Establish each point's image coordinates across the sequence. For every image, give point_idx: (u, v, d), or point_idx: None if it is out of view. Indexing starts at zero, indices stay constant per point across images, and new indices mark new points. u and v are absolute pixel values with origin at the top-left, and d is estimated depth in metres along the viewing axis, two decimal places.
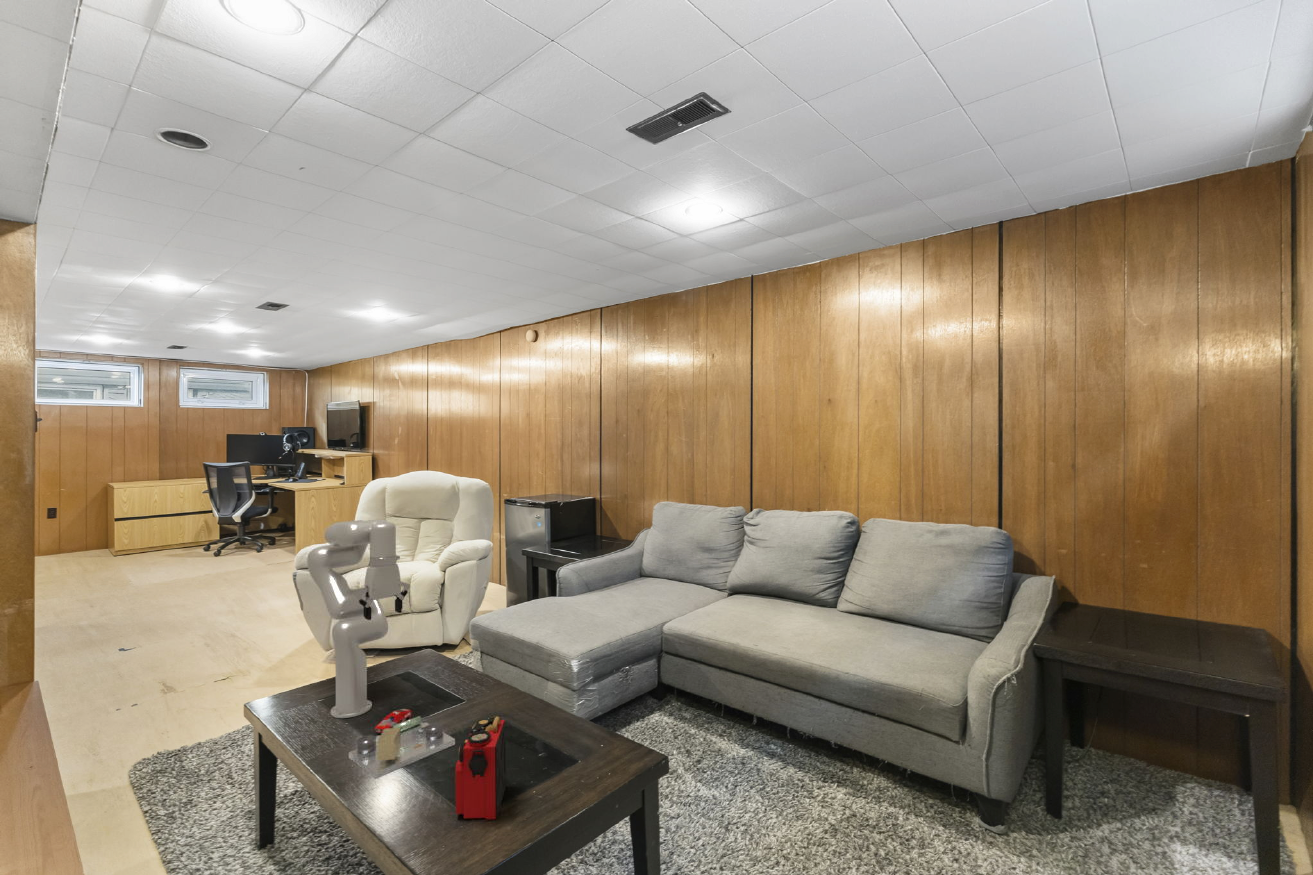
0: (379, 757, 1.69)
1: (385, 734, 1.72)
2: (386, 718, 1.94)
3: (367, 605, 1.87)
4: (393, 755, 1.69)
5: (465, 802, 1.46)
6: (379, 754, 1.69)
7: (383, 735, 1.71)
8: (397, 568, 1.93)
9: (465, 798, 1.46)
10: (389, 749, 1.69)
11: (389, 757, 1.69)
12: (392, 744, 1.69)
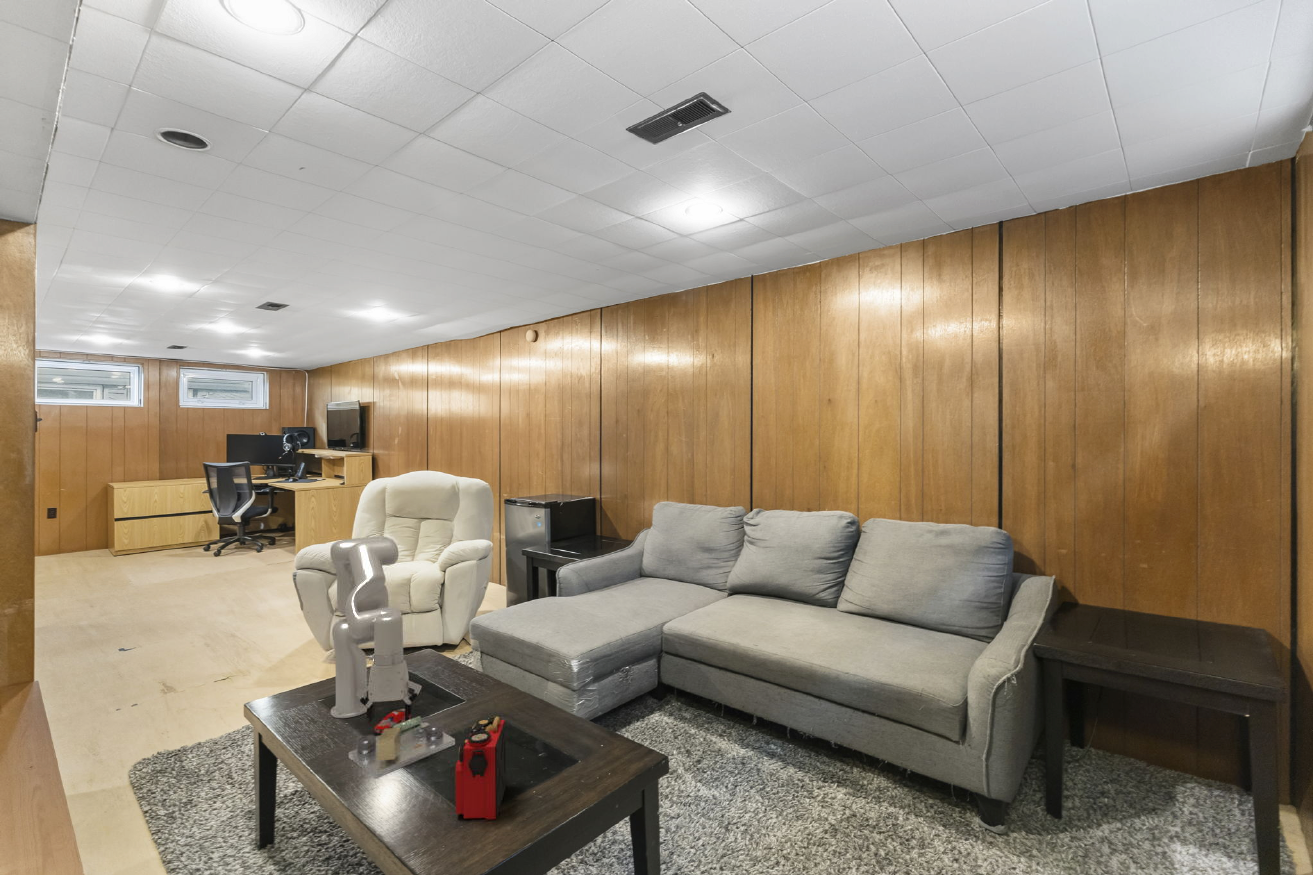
0: (379, 757, 1.69)
1: (385, 734, 1.72)
2: (385, 718, 1.94)
3: None
4: (393, 755, 1.69)
5: (465, 802, 1.46)
6: (379, 754, 1.69)
7: (383, 735, 1.71)
8: None
9: (465, 798, 1.46)
10: (389, 749, 1.69)
11: (389, 757, 1.69)
12: (392, 744, 1.69)
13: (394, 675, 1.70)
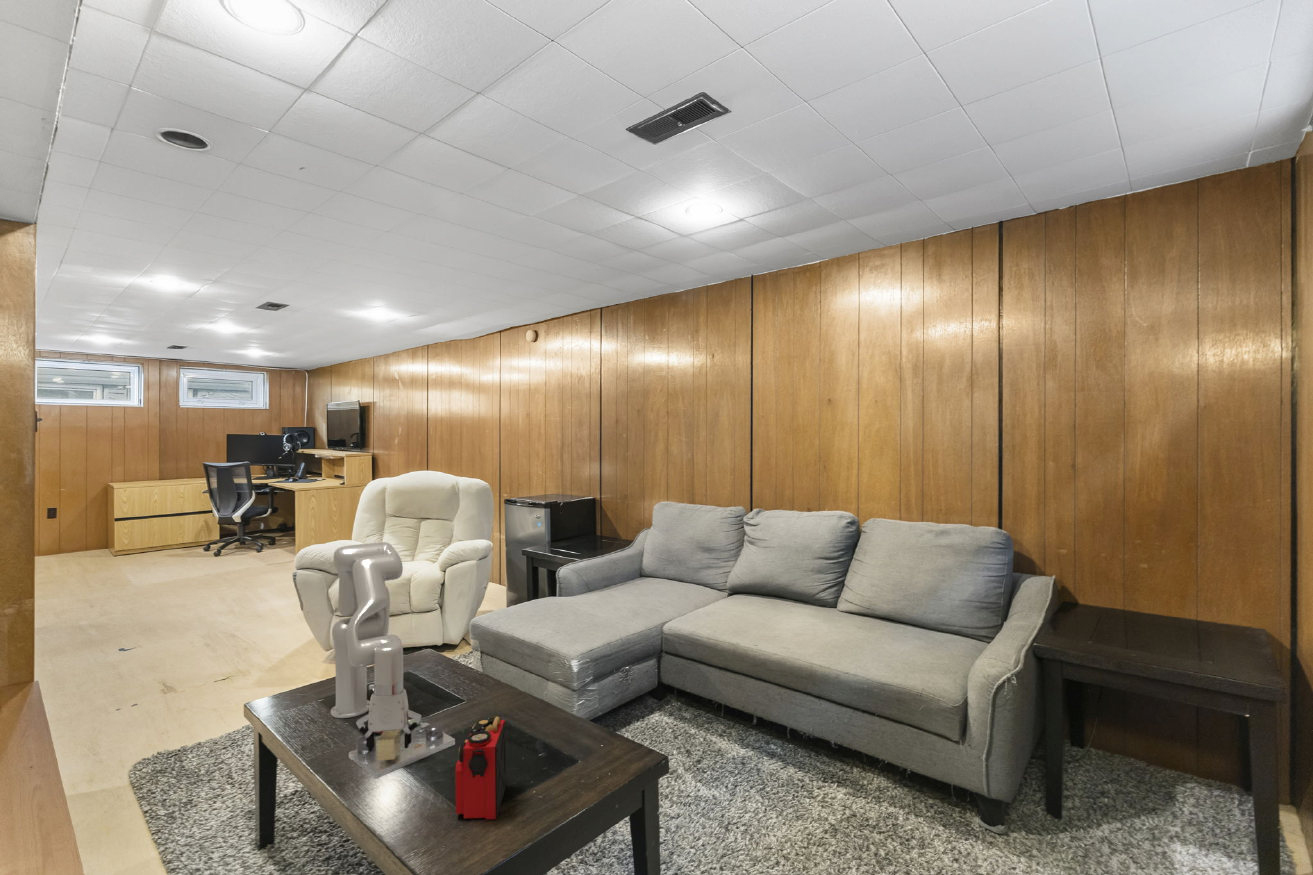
0: (379, 757, 1.69)
1: (385, 734, 1.72)
2: None
3: None
4: (393, 755, 1.69)
5: (465, 802, 1.46)
6: (379, 754, 1.69)
7: (383, 735, 1.71)
8: None
9: (465, 798, 1.46)
10: (389, 749, 1.69)
11: (389, 757, 1.69)
12: (392, 744, 1.69)
13: (394, 705, 1.70)
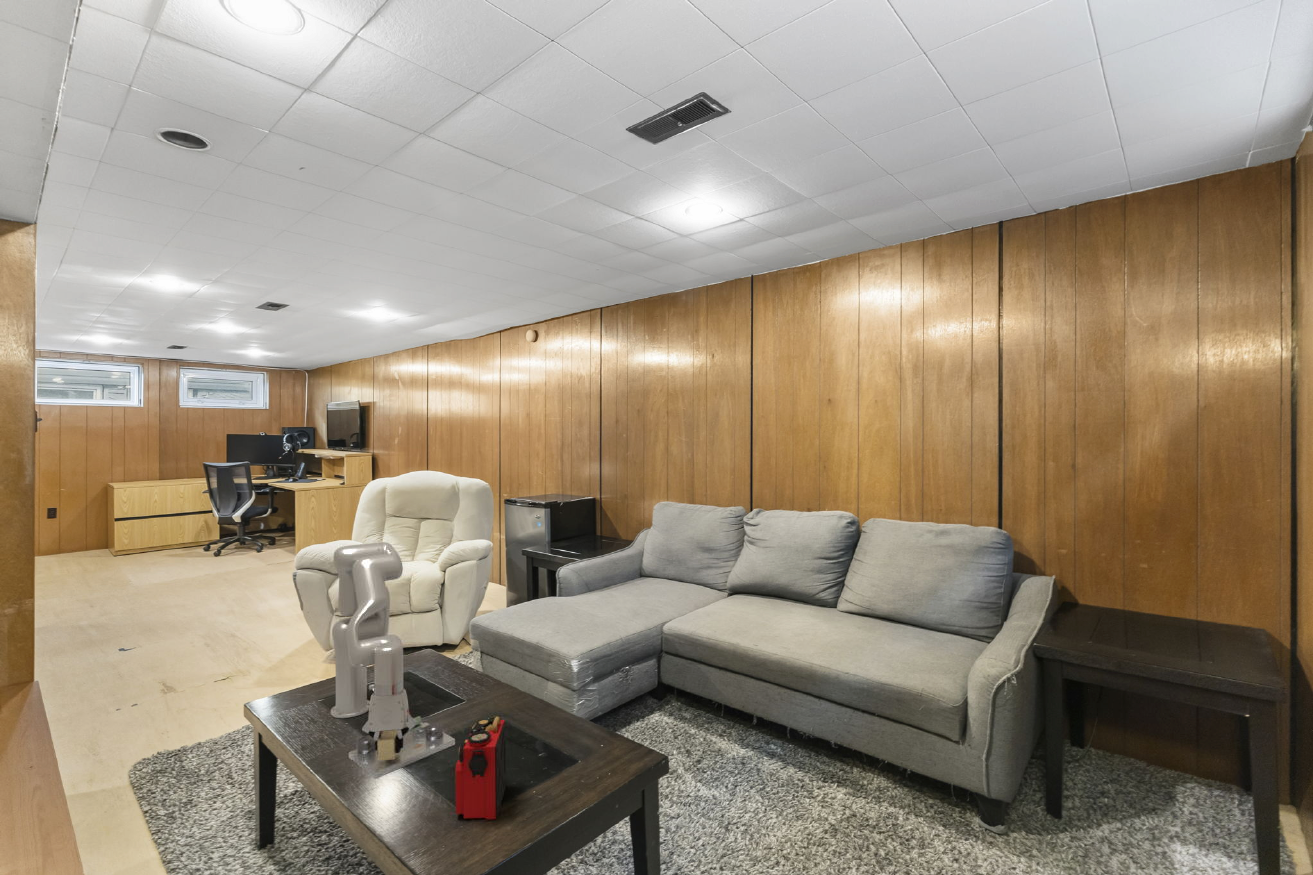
0: (379, 757, 1.69)
1: (385, 734, 1.72)
2: None
3: None
4: (393, 755, 1.69)
5: (465, 802, 1.46)
6: (379, 754, 1.69)
7: (383, 735, 1.71)
8: None
9: (465, 798, 1.46)
10: (389, 749, 1.69)
11: (389, 757, 1.69)
12: (392, 744, 1.69)
13: (394, 705, 1.70)
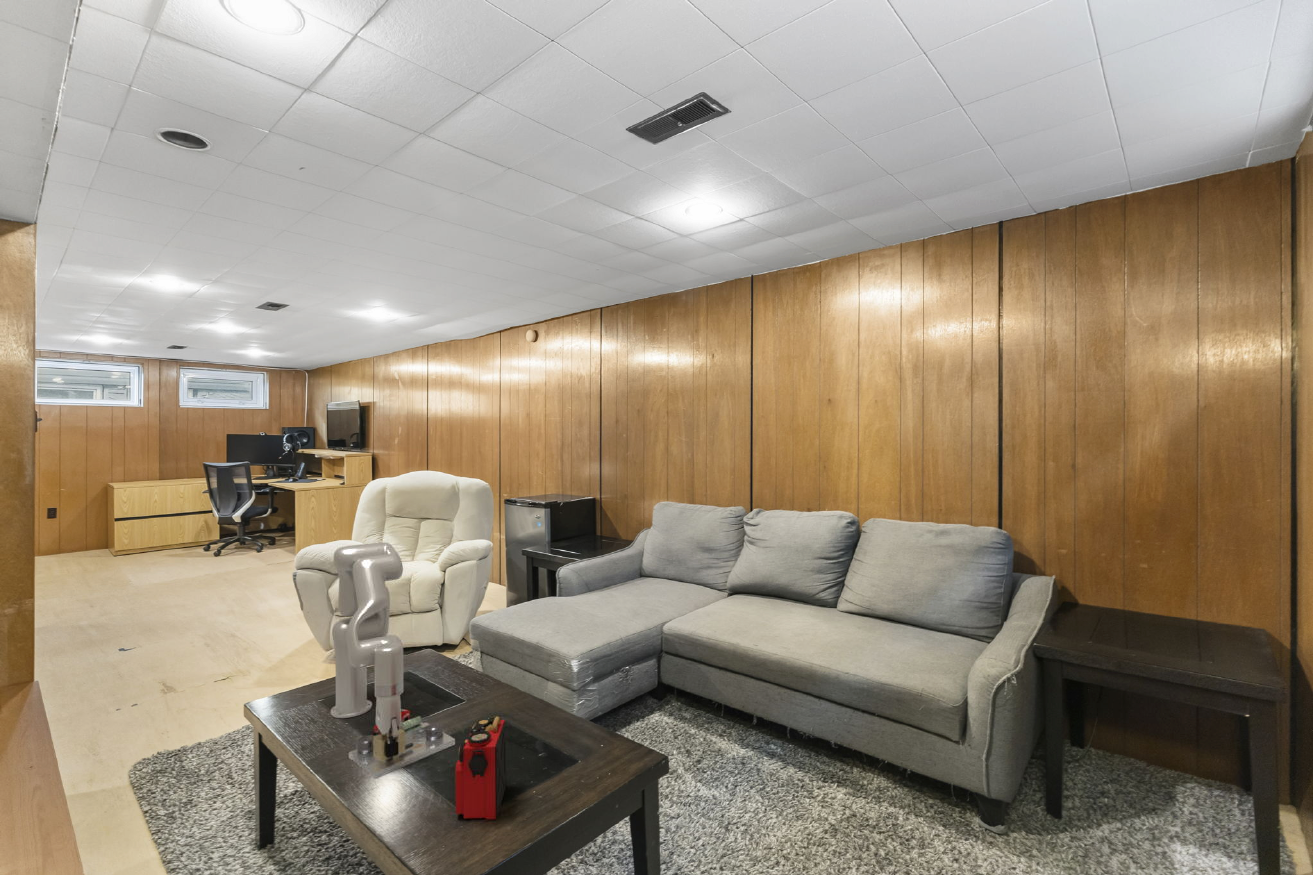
0: (374, 753, 1.71)
1: None
2: None
3: None
4: (381, 756, 1.69)
5: (465, 802, 1.46)
6: (374, 750, 1.71)
7: None
8: None
9: (465, 798, 1.46)
10: (378, 749, 1.69)
11: (379, 758, 1.69)
12: (380, 745, 1.69)
13: (380, 707, 1.69)
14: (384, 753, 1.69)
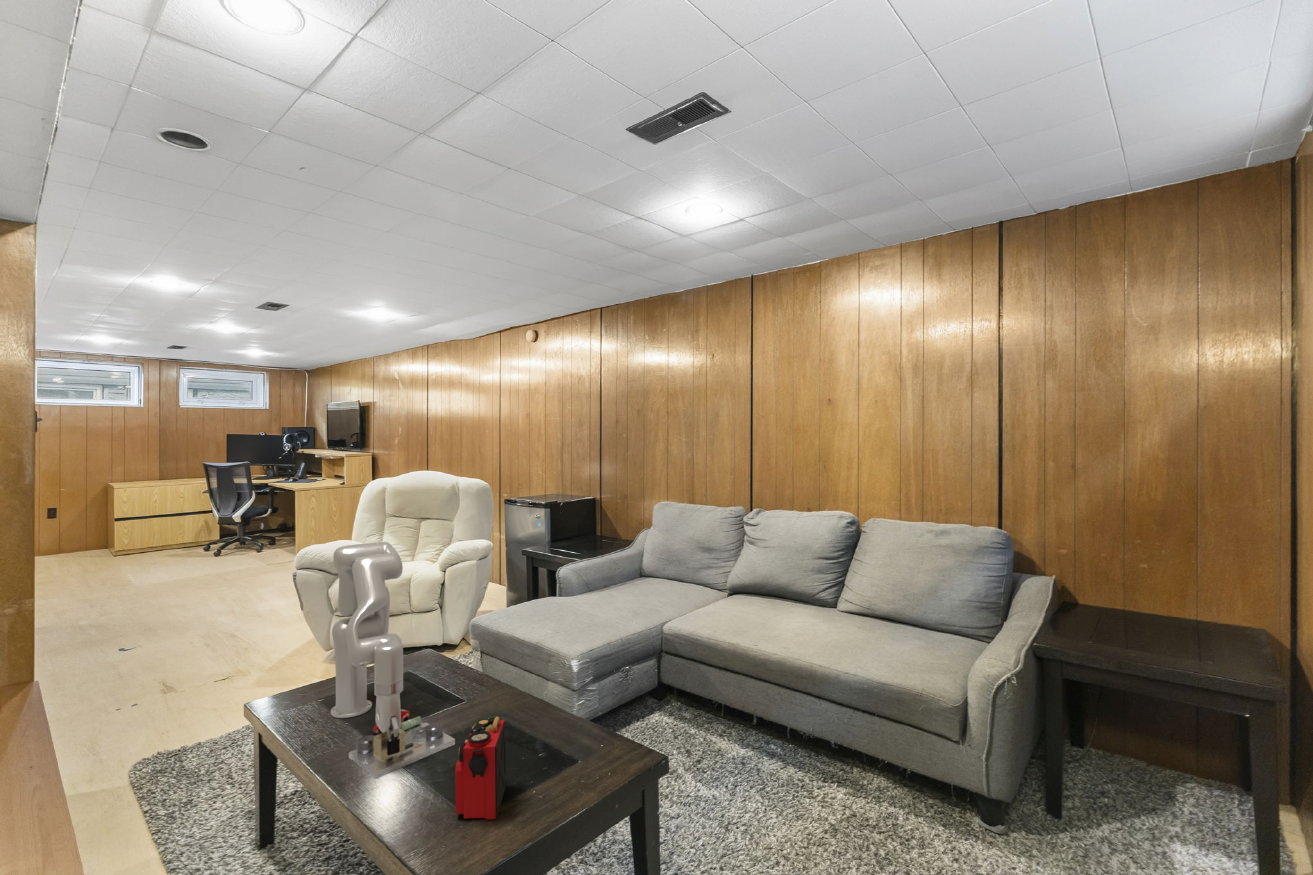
0: (374, 753, 1.71)
1: None
2: None
3: None
4: (380, 756, 1.69)
5: (465, 802, 1.46)
6: (374, 750, 1.71)
7: (383, 733, 1.73)
8: None
9: (465, 798, 1.46)
10: (378, 749, 1.69)
11: (379, 758, 1.69)
12: (380, 745, 1.69)
13: (380, 706, 1.69)
14: (384, 753, 1.69)
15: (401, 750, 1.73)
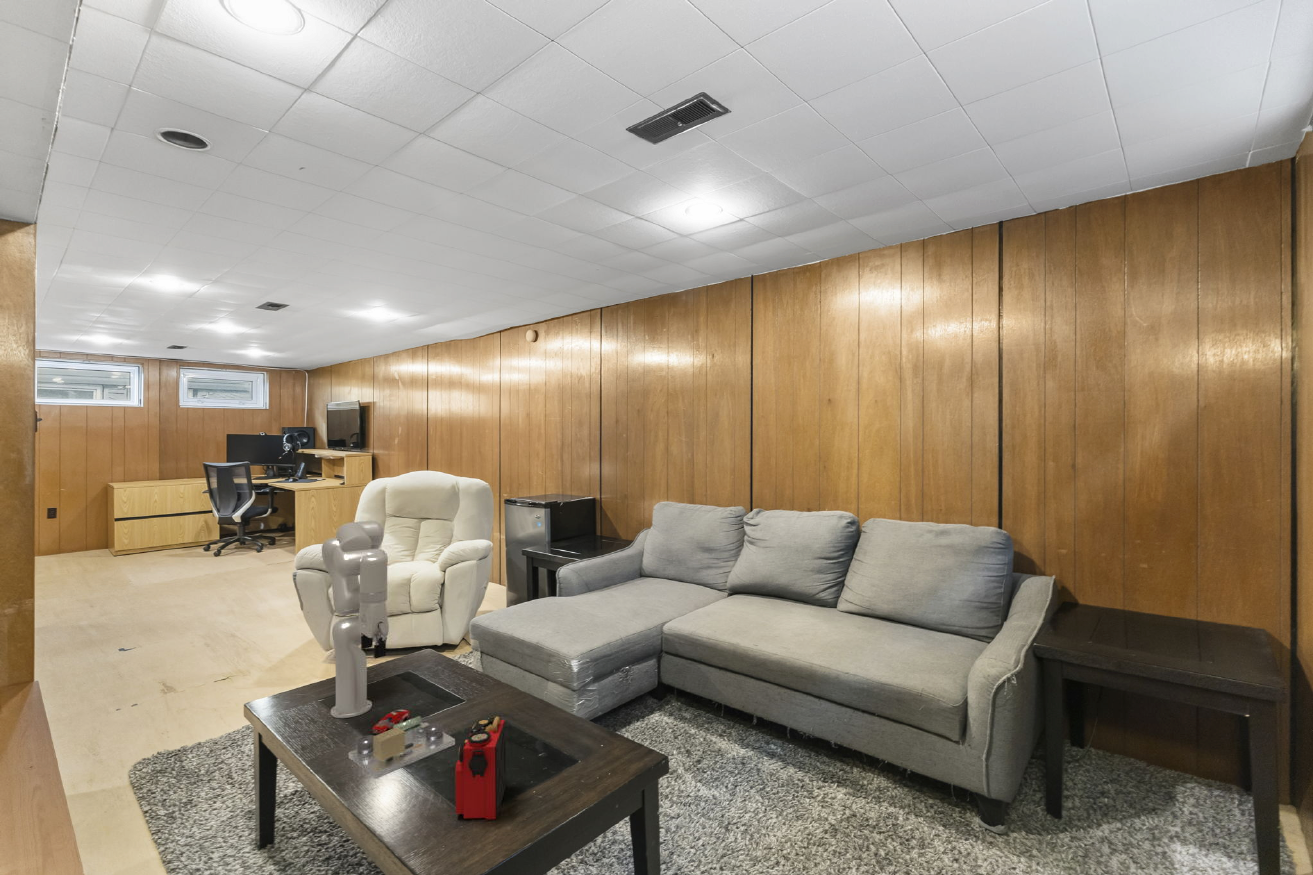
0: (374, 753, 1.71)
1: (387, 732, 1.73)
2: (384, 719, 1.94)
3: None
4: (380, 756, 1.69)
5: (465, 802, 1.46)
6: (374, 750, 1.71)
7: (383, 733, 1.73)
8: None
9: (465, 798, 1.46)
10: (378, 749, 1.69)
11: (379, 758, 1.69)
12: (380, 745, 1.69)
13: (366, 613, 1.78)
14: (384, 753, 1.69)
15: (401, 750, 1.73)
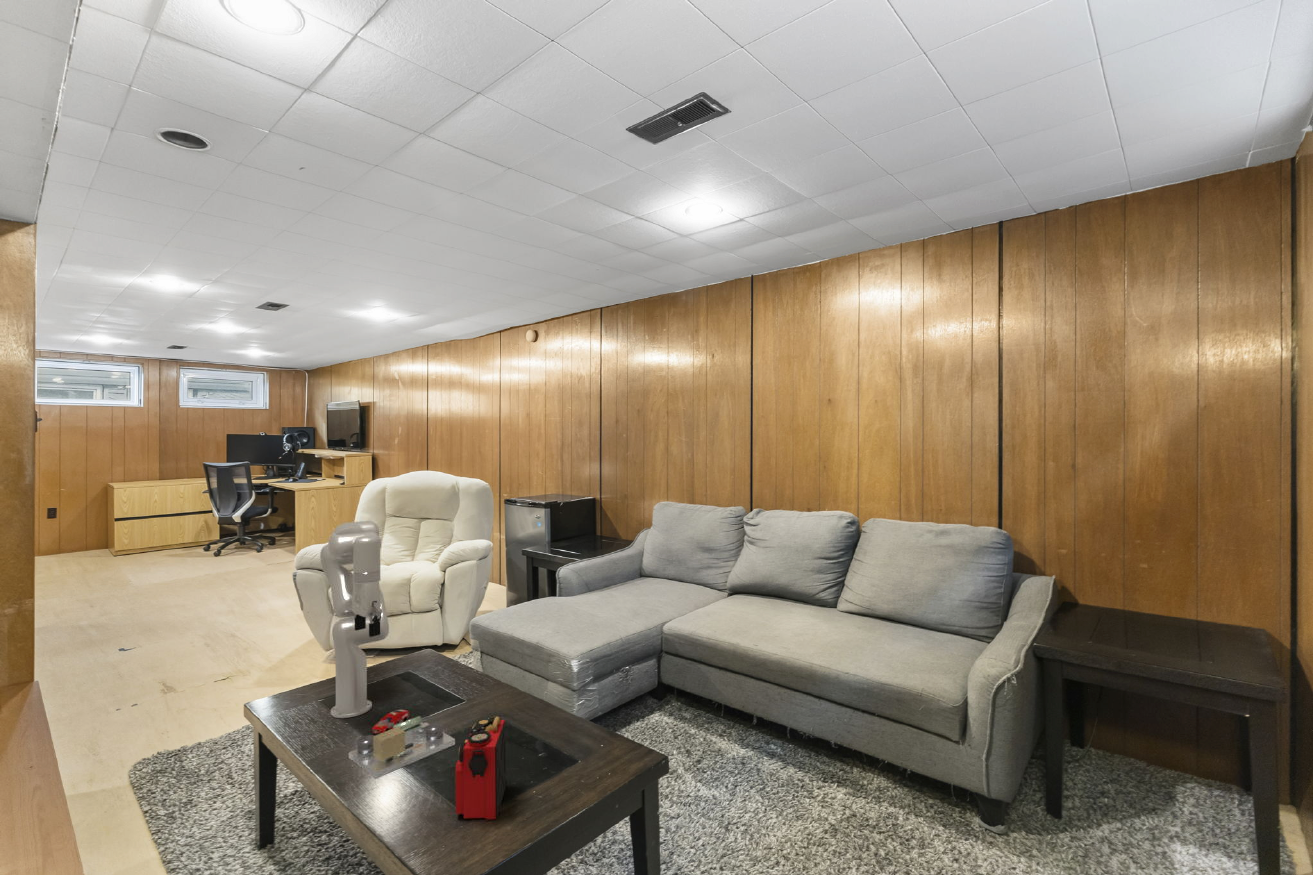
0: (374, 753, 1.71)
1: (387, 732, 1.73)
2: (383, 719, 1.94)
3: None
4: (380, 756, 1.69)
5: (465, 802, 1.46)
6: (374, 750, 1.71)
7: (383, 733, 1.73)
8: None
9: (465, 798, 1.46)
10: (378, 749, 1.69)
11: (379, 758, 1.69)
12: (380, 745, 1.69)
13: (361, 593, 1.82)
14: (384, 753, 1.69)
15: (401, 750, 1.73)
